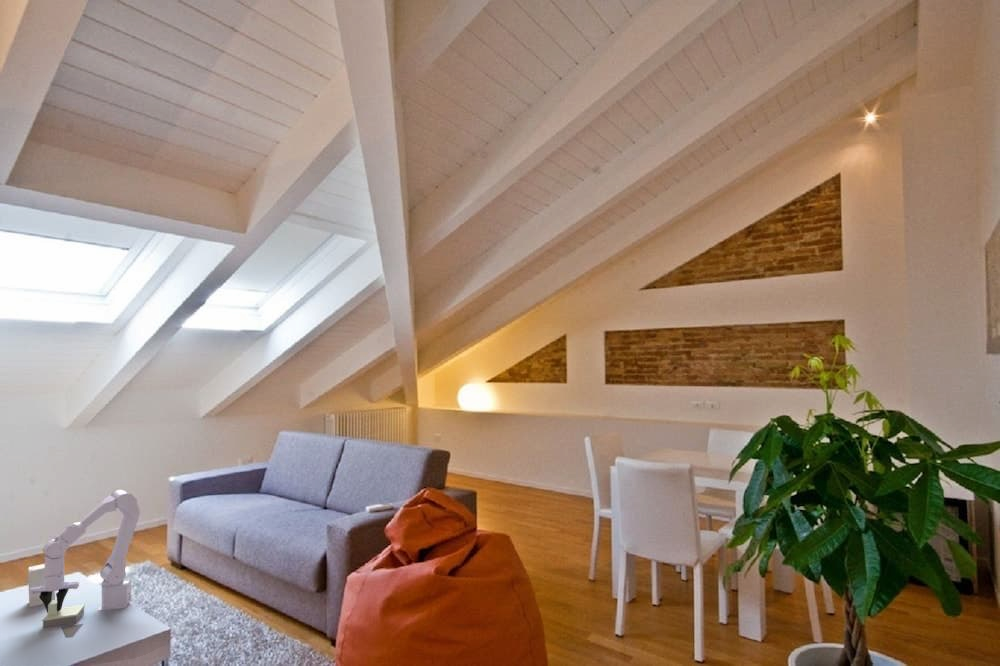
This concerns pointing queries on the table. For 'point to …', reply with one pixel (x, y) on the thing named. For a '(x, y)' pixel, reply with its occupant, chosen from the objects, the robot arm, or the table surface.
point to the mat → (70, 630)
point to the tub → (63, 620)
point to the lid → (61, 611)
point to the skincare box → (37, 583)
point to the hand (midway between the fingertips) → (54, 610)
